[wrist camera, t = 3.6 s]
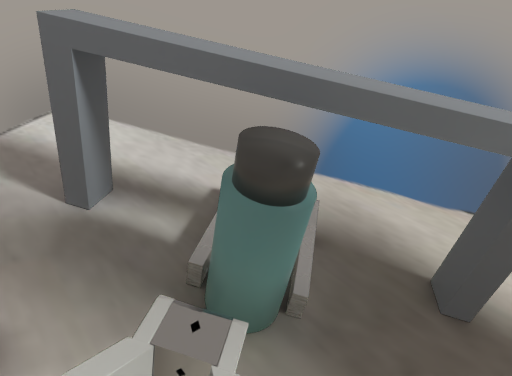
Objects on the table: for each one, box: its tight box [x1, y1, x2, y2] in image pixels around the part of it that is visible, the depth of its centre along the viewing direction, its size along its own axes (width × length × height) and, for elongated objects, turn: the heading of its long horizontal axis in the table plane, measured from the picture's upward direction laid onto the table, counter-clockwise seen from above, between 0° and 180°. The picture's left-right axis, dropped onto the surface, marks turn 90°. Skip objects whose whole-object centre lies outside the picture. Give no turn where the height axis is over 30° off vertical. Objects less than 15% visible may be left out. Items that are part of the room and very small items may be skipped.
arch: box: [37, 9, 512, 322], centre depth 28 cm, size 39×4×17 cm, turn 77°
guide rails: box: [186, 200, 319, 318], centre depth 32 cm, size 10×14×2 cm
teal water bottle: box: [205, 126, 320, 333], centre depth 23 cm, size 6×6×14 cm
